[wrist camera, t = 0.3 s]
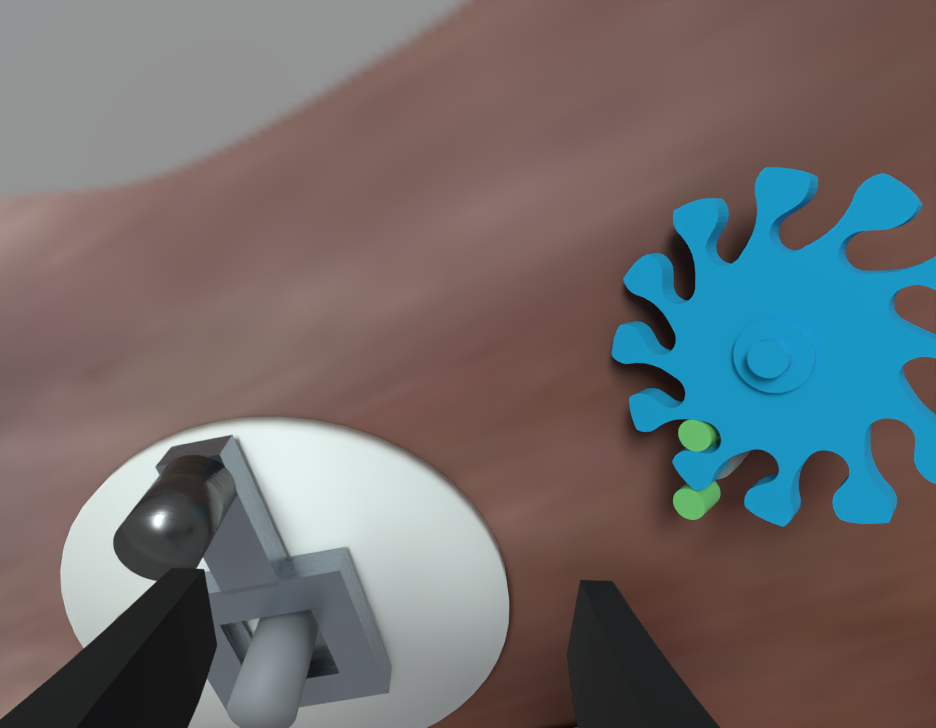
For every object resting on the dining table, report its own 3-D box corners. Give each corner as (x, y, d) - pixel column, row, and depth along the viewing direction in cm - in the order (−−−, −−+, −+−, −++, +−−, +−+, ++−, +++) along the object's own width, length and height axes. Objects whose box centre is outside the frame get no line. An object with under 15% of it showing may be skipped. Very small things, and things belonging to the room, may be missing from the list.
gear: (703, 101, 15) (1178, 294, 10) (773, 124, 20) (1137, 269, 15) (545, 415, 21) (805, 634, 16) (626, 381, 25) (852, 547, 20)
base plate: (537, 701, 28) (553, 819, 23) (184, 757, 29) (133, 879, 25) (458, 373, 20) (459, 452, 16) (-14, 466, 22) (-138, 564, 17)
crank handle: (392, 666, 25) (380, 770, 21) (240, 691, 25) (202, 797, 21) (295, 416, 19) (256, 495, 16) (106, 453, 20) (23, 538, 16)
